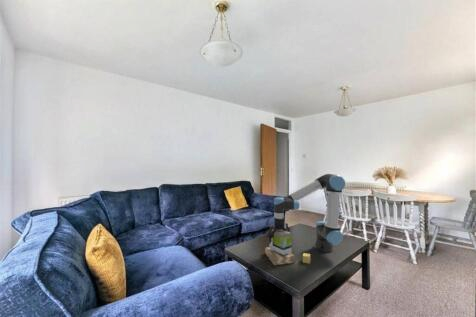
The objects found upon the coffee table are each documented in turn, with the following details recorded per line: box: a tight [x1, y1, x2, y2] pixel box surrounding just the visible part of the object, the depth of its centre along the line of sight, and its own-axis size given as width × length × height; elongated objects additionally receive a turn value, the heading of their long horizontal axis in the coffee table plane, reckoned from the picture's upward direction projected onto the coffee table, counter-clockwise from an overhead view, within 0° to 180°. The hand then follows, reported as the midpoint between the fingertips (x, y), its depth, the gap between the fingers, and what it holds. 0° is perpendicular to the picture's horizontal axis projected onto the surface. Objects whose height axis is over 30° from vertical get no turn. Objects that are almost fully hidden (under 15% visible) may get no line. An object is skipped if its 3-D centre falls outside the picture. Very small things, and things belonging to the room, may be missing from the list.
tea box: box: [268, 228, 293, 255], centre depth 160 cm, size 15×10×15 cm
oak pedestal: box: [264, 246, 296, 266], centre depth 161 cm, size 16×19×5 cm
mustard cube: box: [302, 252, 311, 265], centre depth 155 cm, size 5×5×5 cm
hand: (279, 245), depth 161 cm, fingers closed on tea box, 12 cm apart
